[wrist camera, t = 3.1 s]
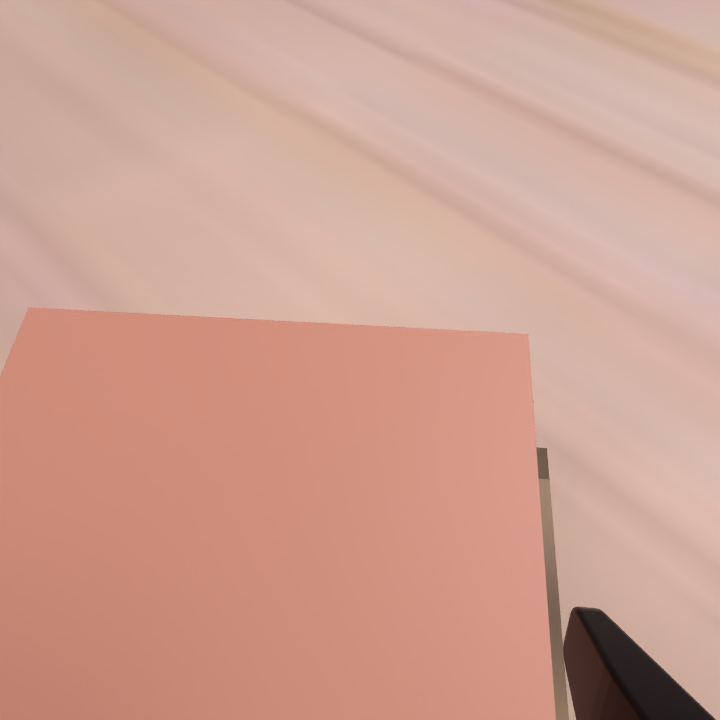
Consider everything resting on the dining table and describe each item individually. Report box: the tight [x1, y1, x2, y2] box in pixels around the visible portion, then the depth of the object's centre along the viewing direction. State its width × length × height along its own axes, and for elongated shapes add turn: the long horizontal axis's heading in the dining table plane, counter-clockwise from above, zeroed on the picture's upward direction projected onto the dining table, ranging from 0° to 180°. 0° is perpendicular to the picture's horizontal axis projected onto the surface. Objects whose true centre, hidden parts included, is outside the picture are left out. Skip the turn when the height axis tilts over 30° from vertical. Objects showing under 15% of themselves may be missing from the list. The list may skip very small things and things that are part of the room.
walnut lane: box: [536, 448, 569, 720], centre depth 15 cm, size 11×13×2 cm
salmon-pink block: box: [0, 308, 556, 720], centre depth 10 cm, size 6×6×13 cm
